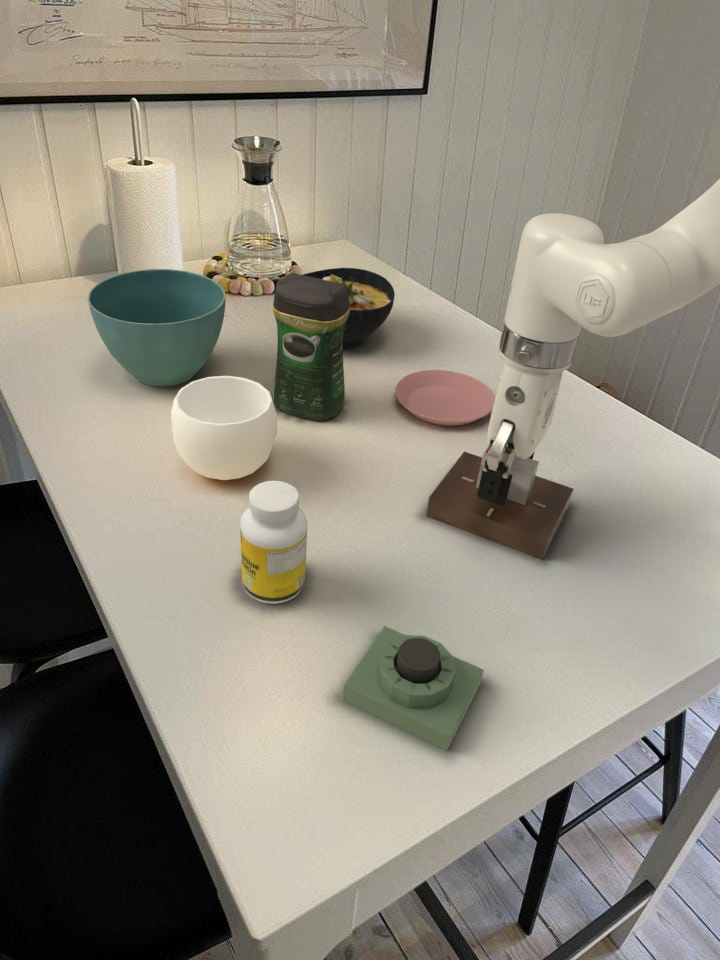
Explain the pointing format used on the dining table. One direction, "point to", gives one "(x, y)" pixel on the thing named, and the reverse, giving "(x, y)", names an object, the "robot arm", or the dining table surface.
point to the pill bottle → (273, 543)
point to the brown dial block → (499, 509)
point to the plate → (444, 397)
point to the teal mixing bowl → (159, 322)
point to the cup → (224, 426)
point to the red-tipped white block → (517, 477)
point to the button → (418, 660)
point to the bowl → (361, 301)
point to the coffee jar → (310, 346)
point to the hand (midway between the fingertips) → (505, 478)
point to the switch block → (413, 690)
